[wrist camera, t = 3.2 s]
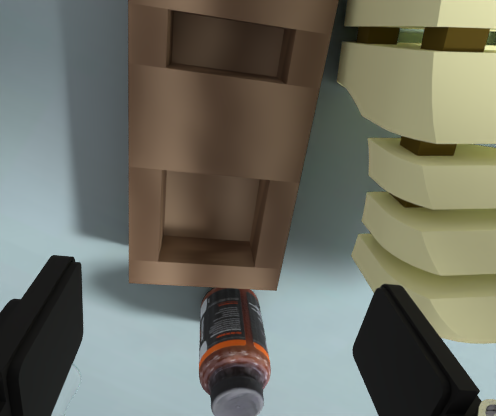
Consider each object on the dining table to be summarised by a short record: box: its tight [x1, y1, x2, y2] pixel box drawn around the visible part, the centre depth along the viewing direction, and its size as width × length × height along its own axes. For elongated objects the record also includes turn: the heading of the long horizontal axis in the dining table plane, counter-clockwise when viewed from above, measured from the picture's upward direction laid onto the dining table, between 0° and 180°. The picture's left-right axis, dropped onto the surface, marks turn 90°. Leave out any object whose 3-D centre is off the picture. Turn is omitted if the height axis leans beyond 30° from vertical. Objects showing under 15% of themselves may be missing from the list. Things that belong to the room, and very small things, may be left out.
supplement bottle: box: [199, 288, 271, 416], centre depth 32 cm, size 6×6×11 cm
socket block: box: [128, 0, 339, 291], centre depth 27 cm, size 12×24×5 cm, turn 172°
